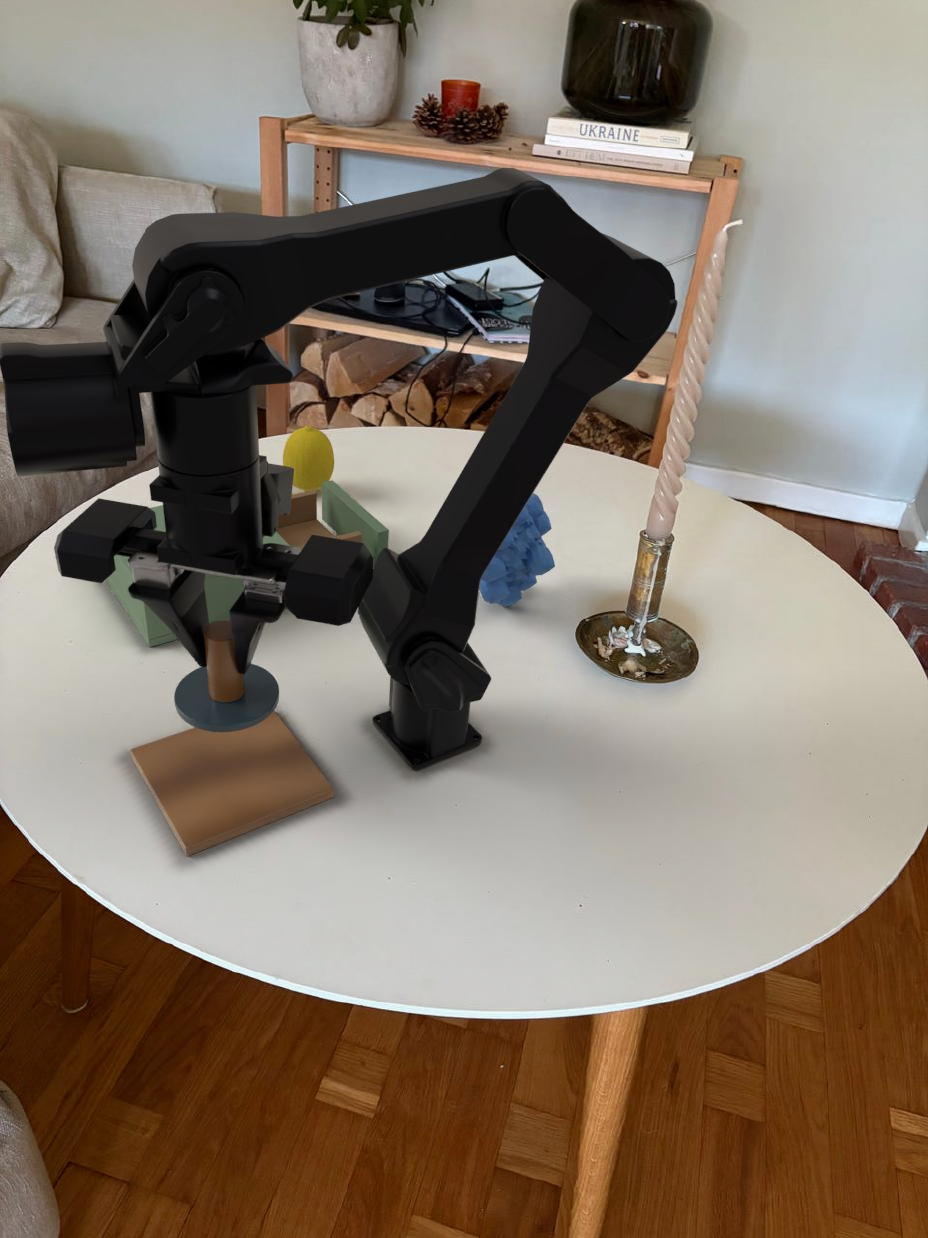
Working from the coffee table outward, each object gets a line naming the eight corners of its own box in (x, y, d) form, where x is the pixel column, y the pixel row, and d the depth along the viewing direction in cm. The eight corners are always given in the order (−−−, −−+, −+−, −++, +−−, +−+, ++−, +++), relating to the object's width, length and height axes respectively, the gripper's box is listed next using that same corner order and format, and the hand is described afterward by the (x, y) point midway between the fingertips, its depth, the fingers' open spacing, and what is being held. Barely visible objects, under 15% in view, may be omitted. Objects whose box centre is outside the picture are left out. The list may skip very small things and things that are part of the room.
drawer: (342, 514, 101) (342, 477, 99) (397, 565, 94) (399, 527, 91) (219, 543, 94) (216, 505, 92) (268, 601, 87) (267, 561, 85)
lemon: (279, 484, 108) (277, 417, 103) (327, 479, 109) (327, 413, 105) (289, 507, 103) (288, 438, 99) (339, 502, 105) (340, 434, 101)
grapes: (515, 649, 86) (532, 533, 79) (452, 622, 88) (463, 507, 81) (573, 593, 94) (593, 483, 87) (514, 570, 97) (528, 461, 90)
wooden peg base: (334, 797, 69) (334, 789, 69) (186, 857, 63) (185, 848, 63) (268, 710, 76) (268, 702, 76) (131, 757, 71) (129, 749, 70)
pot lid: (296, 711, 65) (295, 643, 62) (198, 746, 62) (190, 675, 59) (253, 656, 70) (250, 590, 67) (159, 685, 66) (150, 617, 63)
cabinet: (239, 543, 96) (235, 489, 93) (295, 606, 88) (293, 549, 85) (102, 576, 90) (93, 519, 86) (149, 647, 81) (141, 587, 78)
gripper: (399, 424, 61) (389, 624, 70) (123, 382, 63) (148, 581, 72) (349, 503, 52) (346, 721, 61) (29, 451, 54) (71, 669, 63)
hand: (225, 666), depth 64 cm, fingers closed on pot lid, 2 cm apart
